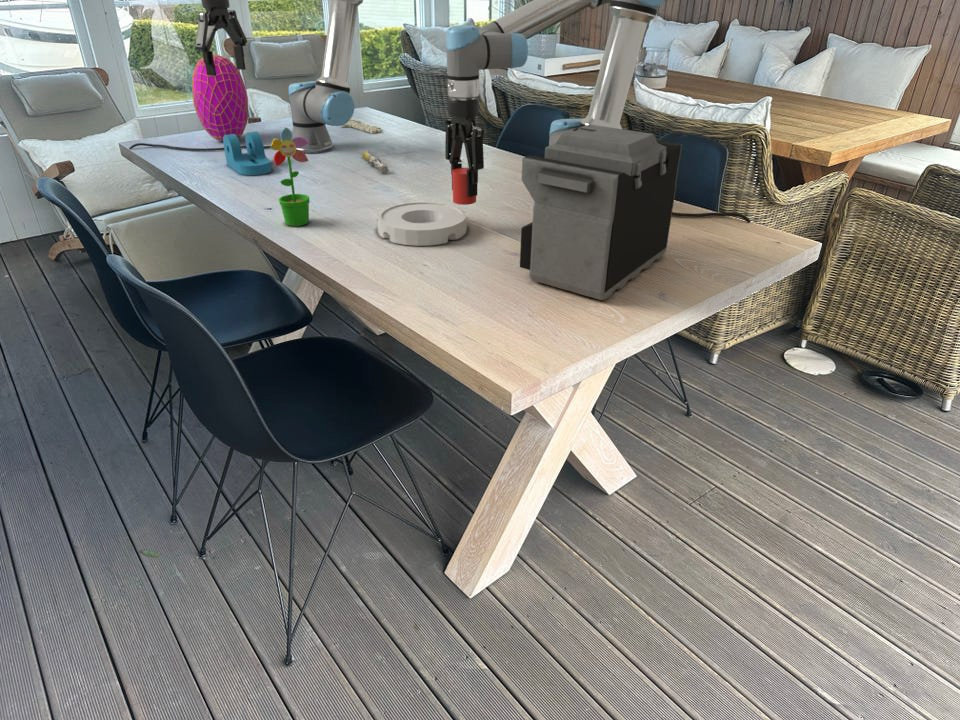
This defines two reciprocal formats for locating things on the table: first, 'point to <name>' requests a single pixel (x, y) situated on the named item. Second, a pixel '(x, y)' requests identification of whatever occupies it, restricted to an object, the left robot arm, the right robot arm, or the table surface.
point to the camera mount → (246, 154)
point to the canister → (461, 187)
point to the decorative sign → (362, 126)
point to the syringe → (375, 161)
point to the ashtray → (422, 223)
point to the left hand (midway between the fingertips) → (226, 72)
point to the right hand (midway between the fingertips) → (464, 192)
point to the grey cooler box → (598, 208)
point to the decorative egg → (220, 98)
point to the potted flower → (291, 178)
